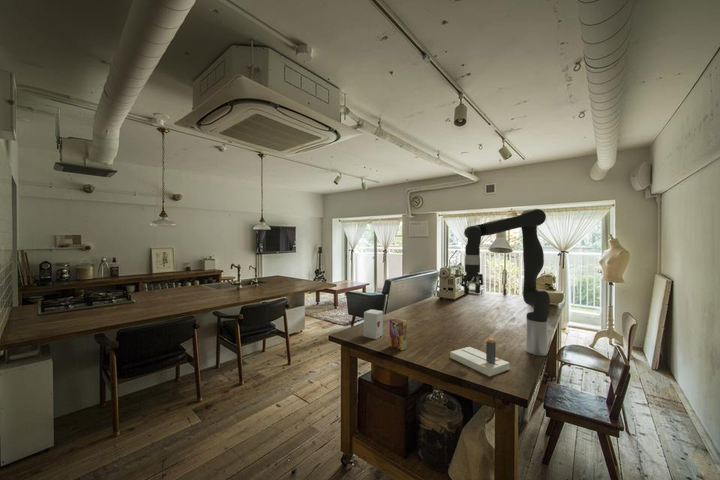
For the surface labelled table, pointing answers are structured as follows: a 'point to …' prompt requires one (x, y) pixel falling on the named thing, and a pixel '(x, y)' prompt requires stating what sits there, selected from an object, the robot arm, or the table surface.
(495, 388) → the table surface
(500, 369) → the console panel
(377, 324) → the supplement box
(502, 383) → the table surface
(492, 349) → the fader tab
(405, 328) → the candy box
